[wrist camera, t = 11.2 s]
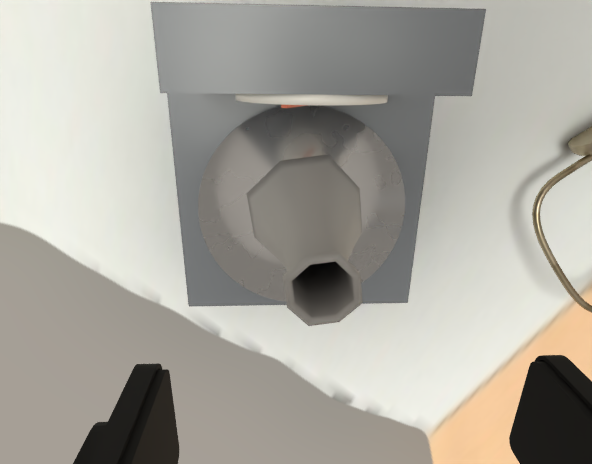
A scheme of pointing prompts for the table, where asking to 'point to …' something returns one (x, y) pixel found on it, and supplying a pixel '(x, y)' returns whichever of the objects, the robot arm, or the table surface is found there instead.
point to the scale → (307, 100)
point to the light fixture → (583, 144)
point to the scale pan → (291, 145)
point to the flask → (311, 234)
